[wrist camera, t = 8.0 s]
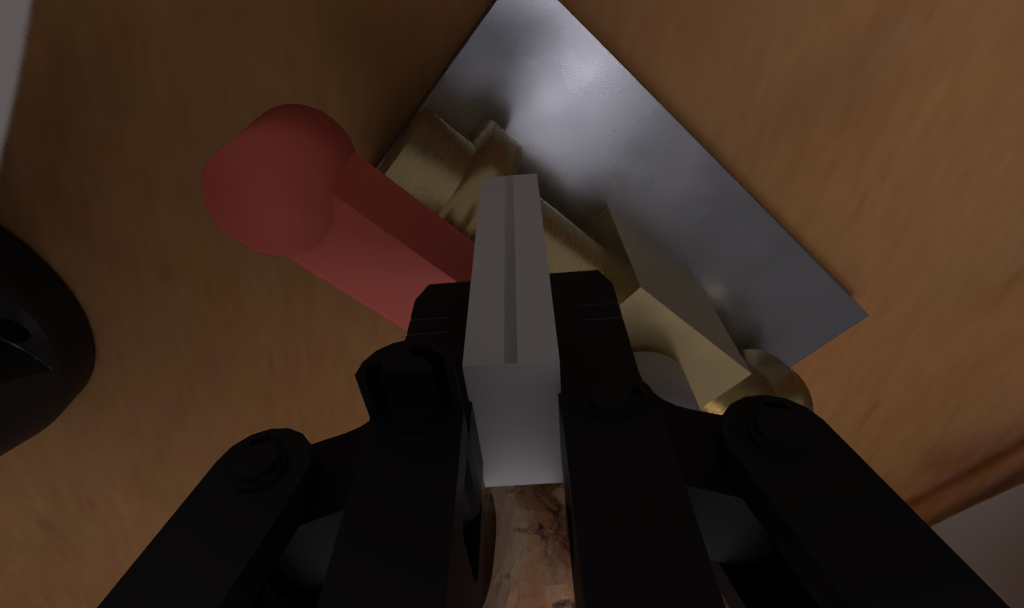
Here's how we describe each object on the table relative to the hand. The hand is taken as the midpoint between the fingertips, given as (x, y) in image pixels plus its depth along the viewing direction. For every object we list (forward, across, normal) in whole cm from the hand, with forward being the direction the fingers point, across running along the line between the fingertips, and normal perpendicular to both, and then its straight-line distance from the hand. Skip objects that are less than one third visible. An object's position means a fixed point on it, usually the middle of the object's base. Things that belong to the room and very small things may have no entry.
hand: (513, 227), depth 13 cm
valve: (+9, +4, -8) cm, 13 cm away
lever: (+2, 0, -3) cm, 4 cm away
